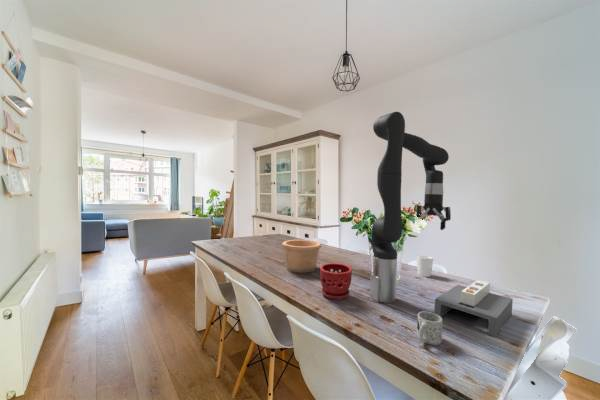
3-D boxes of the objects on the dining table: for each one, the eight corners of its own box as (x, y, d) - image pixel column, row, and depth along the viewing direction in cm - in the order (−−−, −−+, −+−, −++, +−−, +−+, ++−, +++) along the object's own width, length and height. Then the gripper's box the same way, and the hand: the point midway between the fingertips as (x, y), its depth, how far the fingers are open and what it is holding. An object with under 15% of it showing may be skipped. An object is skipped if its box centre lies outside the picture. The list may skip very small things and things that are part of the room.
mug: (422, 330, 82) (422, 309, 82) (444, 339, 77) (445, 317, 77) (408, 341, 75) (409, 319, 75) (432, 352, 70) (433, 328, 70)
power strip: (473, 314, 87) (474, 293, 87) (460, 310, 90) (461, 289, 90) (489, 299, 100) (490, 281, 100) (477, 296, 103) (477, 278, 103)
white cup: (413, 272, 144) (414, 255, 143) (426, 272, 144) (427, 255, 144) (421, 277, 136) (422, 258, 135) (435, 277, 136) (436, 258, 136)
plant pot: (315, 290, 113) (316, 263, 112) (344, 289, 115) (345, 262, 115) (324, 303, 100) (325, 272, 100) (356, 301, 103) (357, 271, 102)
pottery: (321, 275, 134) (322, 247, 134) (279, 273, 135) (280, 246, 134) (319, 263, 156) (320, 240, 156) (283, 262, 156) (283, 239, 156)
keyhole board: (495, 337, 79) (496, 318, 79) (434, 315, 92) (434, 298, 92) (511, 314, 95) (512, 298, 95) (457, 298, 108) (457, 284, 108)
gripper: (414, 193, 121) (413, 227, 122) (447, 193, 110) (445, 231, 111) (421, 193, 126) (420, 226, 127) (453, 193, 115) (452, 229, 116)
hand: (432, 228), depth 119 cm, fingers open, 8 cm apart
